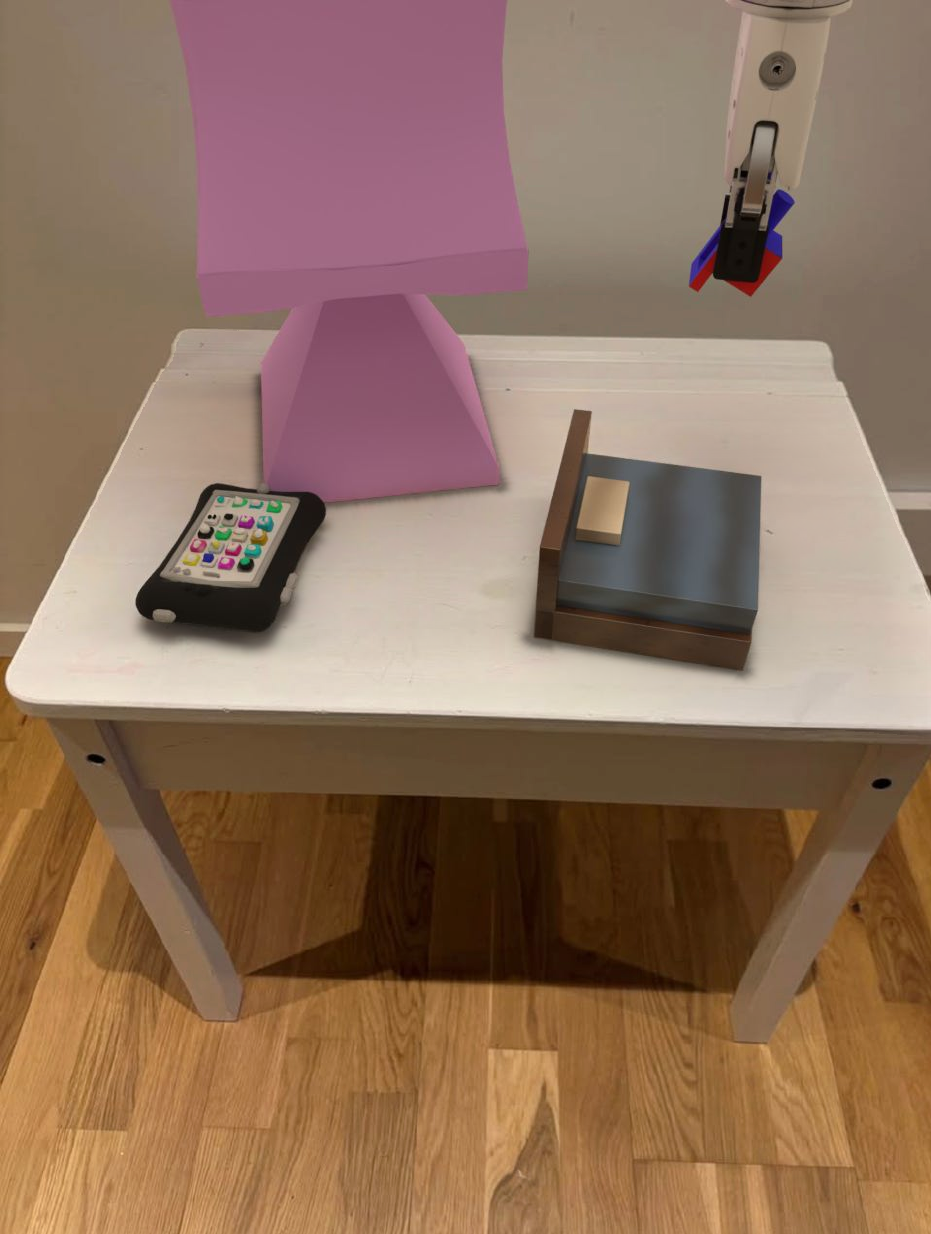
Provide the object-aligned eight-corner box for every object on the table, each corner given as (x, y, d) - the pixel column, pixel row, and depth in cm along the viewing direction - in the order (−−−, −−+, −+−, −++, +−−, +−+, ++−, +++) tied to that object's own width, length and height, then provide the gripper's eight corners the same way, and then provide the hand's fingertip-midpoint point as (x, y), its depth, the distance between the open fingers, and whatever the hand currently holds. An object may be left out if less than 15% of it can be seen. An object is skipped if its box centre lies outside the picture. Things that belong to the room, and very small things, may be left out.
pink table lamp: (518, 493, 83) (547, -190, 50) (250, 521, 81) (97, -174, 48) (475, 350, 98) (476, -248, 66) (249, 370, 96) (132, -238, 63)
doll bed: (748, 523, 81) (773, 433, 74) (742, 670, 70) (771, 580, 63) (566, 498, 83) (574, 408, 76) (533, 637, 72) (539, 547, 66)
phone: (333, 517, 81) (327, 474, 78) (278, 654, 71) (268, 612, 68) (209, 503, 83) (198, 461, 79) (137, 636, 72) (121, 594, 69)
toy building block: (735, 315, 73) (809, 225, 67) (688, 286, 72) (759, 192, 67) (736, 292, 76) (808, 203, 70) (691, 263, 75) (759, 171, 69)
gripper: (863, 18, 53) (787, 328, 66) (853, -58, 64) (790, 220, 77) (720, 11, 54) (674, 316, 67) (735, -63, 65) (692, 212, 78)
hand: (736, 262), depth 72 cm, fingers closed on toy building block, 3 cm apart
